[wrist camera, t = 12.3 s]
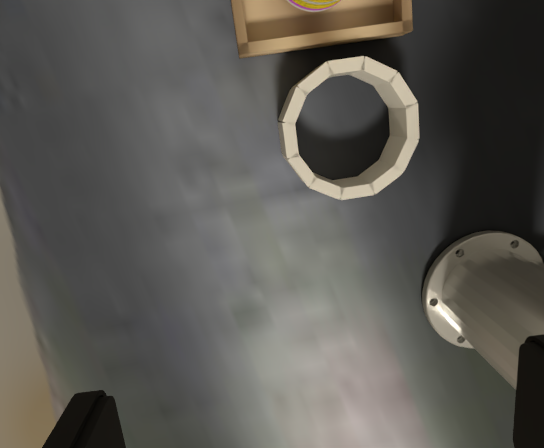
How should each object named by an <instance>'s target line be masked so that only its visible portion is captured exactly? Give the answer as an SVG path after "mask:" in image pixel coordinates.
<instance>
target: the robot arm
mask: <svg viewBox="0 0 544 448" xmlns="http://www.w3.org/2000/svg"><path fill="white" fill-rule="evenodd" d="M422 304H423V308H424V313H425V315H426V317H427V320H428V322H429V323H430V324H431V326H432V327H433V328H434V330H435V331H436V332H437V333H438V334H439V335H440V336H441V337H442V338H444V339H445V340H447V341H448V342H450V343H452V344H455V345H457V346H460V347H466V348H475V349H476V350H477V351H478V352H479V353H480V354H481V355H482V356H483V357H484V358H485V359H486V360H487V361H488V362H489V363H490V364H491V365H492V366H493V367H494V368H495V369H496V370H497V371H498V372H499V373H500V374H501V375H502V376H503V377H504V378H505V379H506V380H507V381H508V382H509V383H510V384H511V385H512V386H513V387H514V388H515V389H516V400H515V414H514V429H513V443H514V447H515V448H544V263H543V260H542V258H541V256H540V255H539V253H538V251H537V250H536V249H535V248H534V247H533V246H532V245H531V244H530V243H528V242H527V241H525V240H523V239H522V238H520V237H518V236H515V235H513V234H511V233H507V232H503V231H489V230H488V231H482V232H476V233H473V234H470V235H467V236H464V237H463V238H461V239H459V240H457V241H455V242H454V243H452V244H451V245H450V246H449V247H447V248H446V249H445V250H444V251H443V252H442V253H441V254H440V255H439V256H438V257H437V258H436V260H435V261H434V263H433V264H432V266H431V267H430V269H429V271H428V273H427V276H426V278H425V281H424V286H423V291H422ZM42 448H126V446H125V442H124V438H123V433H122V429H121V425H120V420H119V416H118V412H117V407H116V403H115V400H114V398H113V396H106V393H105V392H104V391H103V390H98V391H90V392H82V393H77V394H75V395H74V396H73V397H72V399H71V400H70V402H69V404H68V405H67V407H66V409H65V410H64V412H63V414H62V415H61V417H60V419H59V420H58V422H57V424H56V425H55V427H54V429H53V430H52V432H51V434H50V435H49V437H48V439H47V440H46V442H45V444H44V445H43V447H42Z"/></svg>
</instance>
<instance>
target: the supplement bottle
mask: <svg viewBox="0 0 544 448" xmlns="http://www.w3.org/2000/svg"><path fill="white" fill-rule="evenodd" d="M287 1H288V2H289V3H290V4H291V5H293V6H294V7H296V8H298V9H301V10H304V11H308V12H319V11H323V10H327V9H329V8H331V7H333V6H335V5H336V4H337V3H339V2H340V1H341V0H287Z"/></svg>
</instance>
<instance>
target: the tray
mask: <svg viewBox="0 0 544 448" xmlns="http://www.w3.org/2000/svg"><path fill="white" fill-rule="evenodd" d="M231 6H232V13H233V19H234V26H235V33H236V39H237V46H238V53H239V58H247V57H254V56H261V55H268V54H275V53H282V52H290V51H297V50H304V49H311V48H318V47H325V46H333V45H340V44H347V43H354V42H361V41H368V40H376V39H383V38H390V37H397V36H402V35H404V34H407V33H409V32H411V31H413V24H412V0H341V1H340V2H339V3H337V4H336V5H335V6H333V7H331V8H329V9H327V10H323V11H319V12H308V11H304V10H301V9H298V8H296V7H294V6H293V5H291V4H290V3H289V2H288V1H287V0H231Z"/></svg>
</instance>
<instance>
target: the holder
mask: <svg viewBox="0 0 544 448" xmlns="http://www.w3.org/2000/svg"><path fill="white" fill-rule="evenodd" d="M348 74H349V75H351V76H354V77H356V78H358V79H360V80H362V81H365V82H367V83H369V84H371V85H373V86H374V87H375V89H376V90H377V92H378V93H379V95H380V96H381V98H382V99H383V101H384V102H385V104H386V105H387V107H388V111H389V128H390V136H389V138H388V141H387V143H386V145H385V147H384V149H383V152H382V154H381V156H380V158H379V160H378V161H377V162H375V163H374V164H373V165H372V166H370V167H369V168H368V169H366V170H365V171H364V172H362V173H361V174H360V175H359V176H357V177H350V178H344V179H337V180H330V179H327V178H325V177H322V176H320V175H317V174H315V173H312V171H311V170H310V169H309V167H308V166H307V165H306V163H305V162H304V161H303V159H302V158H301V157H300V155H299V152H298V144H297V135H296V127H295V123H296V121H297V118H298V116H299V113H300V111H301V108H302V106H303V103H304V101H305V98H306V96H307V94H308V93H309V92H311V91H312V90H313V89H314V88H316V87H317V86H318V85H319V84H321V83H322V82H323V81H324V80H325V79H327V78H328V77H334V76H341V75H348ZM416 102H417V100H416V99H415V97H414V95H413V94H412V92H411V91H410V89H409V87H408V86H407V84H406V83H405V81H404V80H403V78H402V76H401V75H400V73H399V72H397V71H396V70H394V69H392V68H390V67H388V66H386V65H384V64H381V63H379V62H377V61H375V60H373V59H371V58H369V57H366V56H365V57H364V56H360V57H353V58H345V59H338V60H331V61H327V62H325V63H323V64H321V65H320V66H318V67H316V68H315V69H314V70H313V71H311V72H310V73H309V74H308V75H306V76H305V77H304V78H303V79H301V80H300V81H299V82H298V83H297V84H295V85H294V86H293V87H292V88H291V89H290V91H289V93H288V96H287V98H286V101H285V103H284V106H283V108H282V111H281V113H280V116H279V119H278V121H281V122H278V129H279V137H280V144H281V152H282V154H283V157H284V158H285V159H286V161H287V162H288V163H289V164H290V166H291V167H292V168H293V170H294V171H295V172H296V174H297V175H298V176H299V177H300V179H301V180H302V181H303V182H304V183H305V184H306V185H307V186H308V187H309V188H311V189H313V190H316V191H318V192H321V193H324V194H326V195H329V196H331V197H334V198H336V199H339V200H340V199H341V200H345V199H351V198H358V197H364V196H371V195H374V194H377V193H378V192H379V191H381V190H382V189H383V188H384V187H386V186H387V185H388V184H390V183H391V182H392V181H394V180H395V179H396V178H398V177H399V176H400V175H402V174H403V173H402V172H404V171H405V169H406V167H407V165H408V163H409V160H410V158H411V156H412V154H413V152H414V150H415V148H416V146H417V144H418V142H419V140H417V139H419V116H418V103H416ZM401 171H402V172H401Z"/></svg>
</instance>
